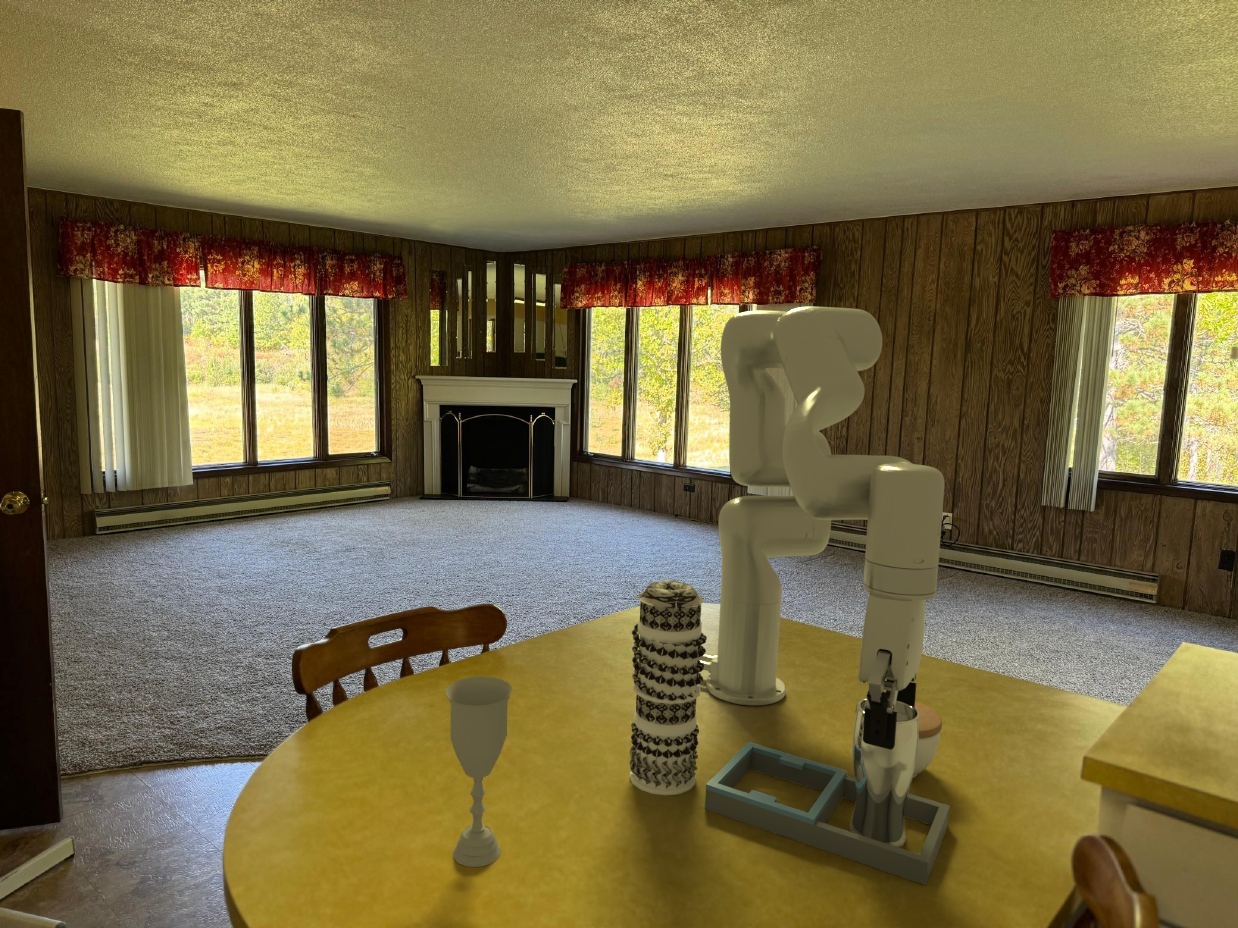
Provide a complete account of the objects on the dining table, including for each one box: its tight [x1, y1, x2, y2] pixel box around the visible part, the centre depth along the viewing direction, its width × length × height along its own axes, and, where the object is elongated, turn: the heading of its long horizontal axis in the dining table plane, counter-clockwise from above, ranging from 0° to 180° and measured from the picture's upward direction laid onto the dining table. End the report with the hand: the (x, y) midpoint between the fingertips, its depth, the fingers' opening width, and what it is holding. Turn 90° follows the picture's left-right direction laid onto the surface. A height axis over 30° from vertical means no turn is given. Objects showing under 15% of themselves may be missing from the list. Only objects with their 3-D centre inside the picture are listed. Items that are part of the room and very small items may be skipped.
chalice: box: [445, 676, 513, 868], centre depth 86 cm, size 7×7×18 cm
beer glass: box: [849, 697, 919, 848], centre depth 92 cm, size 7×7×15 cm
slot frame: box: [704, 741, 951, 886], centre depth 96 cm, size 25×13×3 cm, turn 59°
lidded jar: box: [855, 700, 943, 779], centre depth 108 cm, size 11×11×9 cm
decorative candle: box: [629, 580, 708, 796], centre depth 102 cm, size 9×9×25 cm
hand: (889, 728), depth 91 cm, fingers open, 9 cm apart
